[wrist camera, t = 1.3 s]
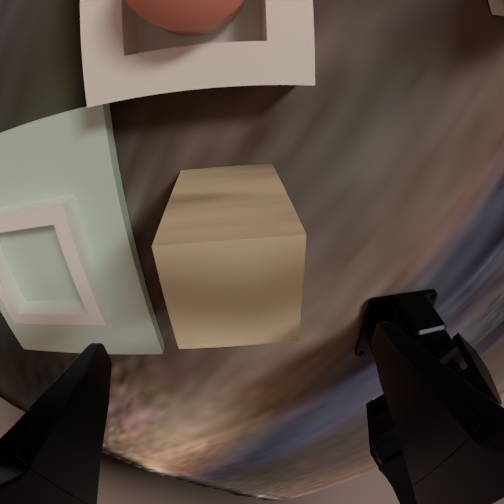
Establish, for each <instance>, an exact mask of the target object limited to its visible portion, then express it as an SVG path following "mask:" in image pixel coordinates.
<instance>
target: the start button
mask: <svg viewBox="0 0 504 504" xmlns="http://www.w3.org/2000/svg"><path fill="white" fill-rule="evenodd" d="M245 1H246V0H126V2H127V3H128V5H129V6H130V7H131V8H132V9H133V10H134V11H135V12H136V13H137V14H139V15H140V16H142V17H143V18H145V19H146V20H148V21H150V22H151V23H153V24H154V25H156V26H157V27H159V28H161V29H162V30H164V31H166V32H169V33H172V34H175V35H181V36H198V35H204V34H207V33H211V32H213V31H216V30H218V29H220V28H222V27H224V26H225V25H227V24H228V23H229V22H231V21H232V20H233V19H234V18H235V17H236V16H237V15H238V13H239V12H240V11H241V9H242V7H243V6H244V3H245Z"/></svg>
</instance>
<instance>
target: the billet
mask: <svg viewBox="0 0 504 504" xmlns="http://www.w3.org/2000/svg"><path fill="white" fill-rule="evenodd" d="M152 250H153V254H154V259H155V263H156V267H157V271H158V275H159V279H160V283H161V287H162V291H163V295H164V299H165V303H166V306H167V310H168V314H169V317H170V321H171V324H172V328H173V331H174V335H175V338H176V342H177V345H178V348H179V349H193V348H213V347H229V346H243V345H256V344H267V343H277V342H287V341H296V340H299V329H300V318H301V306H302V294H303V281H304V266H305V251H306V233H305V231H304V228H303V226H302V224H301V222H300V220H299V218H298V216H297V214H296V211H295V209H294V207H293V205H292V203H291V201H290V199H289V197H288V195H287V193H286V191H285V189H284V186H283V184H282V182H281V180H280V178H279V176H278V174H277V172H276V170H275V168H274V166H273V164H261V165H244V166H229V167H216V168H204V169H193V170H182V171H180V174H179V176H178V179H177V181H176V184H175V186H174V188H173V191H172V193H171V196H170V199H169V201H168V204H167V206H166V209H165V211H164V214H163V217H162V219H161V222H160V225H159V227H158V230H157V233H156V236H155V238H154V241H153V244H152Z"/></svg>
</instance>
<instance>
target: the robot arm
mask: <svg viewBox="0 0 504 504" xmlns="http://www.w3.org/2000/svg"><path fill="white" fill-rule="evenodd" d="M437 295H438V294H437V292H436V291H435V290H434V289H431V290H425V291H418V292H412V293H405V294H398V295H391V296H384V297H377V298H372V299H371V300H370V301H369V302H368V304H367V308H366V312H365V316H364V320H363V324H362V328H361V331H360V335H359V338H358V342H357V346H356V349H355V353H356V355H357V356H358V357H361V356H366V355H372V354H373V356H374V358H375V362H376V366H377V370H378V375H379V379H380V383H381V387H382V390H383V393H384V394H382V395H381V396H379V397H378V398H376V399H375V400H372V401H370V402H369V403H367V404H366V408H367V418H368V430H369V444H370V453H371V456H372V457H373V458H374V461H375V462H376V464H377V465H378V468H379V470H380V471H381V472H382V473H383V474H384V475H385V477H386V478H387V479H388V481H389V482H390V484H391V485H392V487H393V489H394V491H395V493H396V495H397V498H398V500H399V502H400V504H504V408H503V407H501V406H500V405H501V404H502V402H501V399H500V396H499V394H498V391H497V389H496V386H495V384H494V382H493V379H492V377H491V375H490V372H489V370H488V369H487V367H486V366H485V364H484V362H483V361H482V359H481V358H480V356H479V355H478V353H477V352H476V351H475V349H474V348H473V347H472V346H471V345H470V344H469V343H468V342H467V341H466V340H465V339H464V338H463V337H462V336H461V335H460V334H459V333H457V334H456V335H455V336H454V337H453V339H451V338H450V336H449V334H448V333H447V331H446V330H445V329H446V325H445V324H444V322H443V321H442V319H441V318H440V316H439V315H438V313H437V312H436V310H435V309H434V307H433V306H434V303H435V301H436V298H437ZM374 304H375V305H374ZM111 365H112V364H111V359H110V357H109V355H108V353H107V351H106V349H105V347H104V345H103V344H102V343H91V344H89V345H88V346H87V347H86V348H85V349H84V351H83V352H82V353H81V354H80V355H79V356H78V357H77V358H76V359H75V360H74V361H73V362H72V363H71V364H70V365H69V366H68V367H67V368H66V369H65V370H64V371H63V372H62V374H61V375H60V376H59V377H58V378H57V379H56V380H55V381H54V382H53V383H52V384H51V385H50V386H49V387H48V389H47V390H46V391H45V392H44V393H43V394H42V395H41V396H40V397H39V398H38V399H37V401H36V402H35V403H34V404H33V405H32V406H31V407H30V408H29V410H27V412H26V413H25V414H24V415H23V416H22V417H21V418H20V420H19V421H17V423H16V424H15V425H14V426H13V427H12V428H11V429H10V430H9V431H8V432H7V433H6V434H5V435H3V436H2V437H1V438H0V504H97V493H98V482H99V471H100V462H101V454H102V446H103V439H104V432H105V425H106V418H107V412H108V405H109V393H110V378H111ZM467 366H468V367H467ZM466 367H467V368H466ZM465 368H466V369H465Z"/></svg>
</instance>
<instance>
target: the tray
mask: <svg viewBox="0 0 504 504" xmlns="http://www.w3.org/2000/svg"><path fill="white" fill-rule="evenodd" d="M0 311H1V313H2V315H3V316H4V318H5V320H6V321H7V323H8V325H9V327H10V328H11V330H12V331H13V333H14V335H15V336H16V338H17V339H18V341H19V343H20V344H21V346H22V347H23V349H27V350H39V351H52V352H68V353H82V352H83V351H84V349H85V348H86V347H87V346H88V345H89V344H91V343H102V344H103V345H104V347H105V349H106V351H107V353H108V354H163V352H164V345H165V344H164V341H163V338H162V335H161V332H160V329H159V326H158V323H157V320H156V317H155V313H154V310H153V307H152V303H151V300H150V297H149V293H148V290H147V286H146V283H145V279H144V276H143V272H142V268H141V264H140V261H139V257H138V253H137V249H136V245H135V241H134V237H133V232H132V228H131V224H130V219H129V215H128V210H127V206H126V201H125V196H124V191H123V186H122V181H121V176H120V170H119V165H118V159H117V153H116V147H115V141H114V134H113V127H112V120H111V113H110V105H109V103H106V104H102V105H97V106H93V107H89V108H87V106H85V107H81V108H77V109H73V110H69V111H65V112H62V113H58V114H55V115H51V116H48V117H45V118H41V119H38V120H35V121H32V122H29V123H26V124H23V125H20V126H17V127H15V128H12V129H9V130H6V131H4V132H1V133H0Z"/></svg>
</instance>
